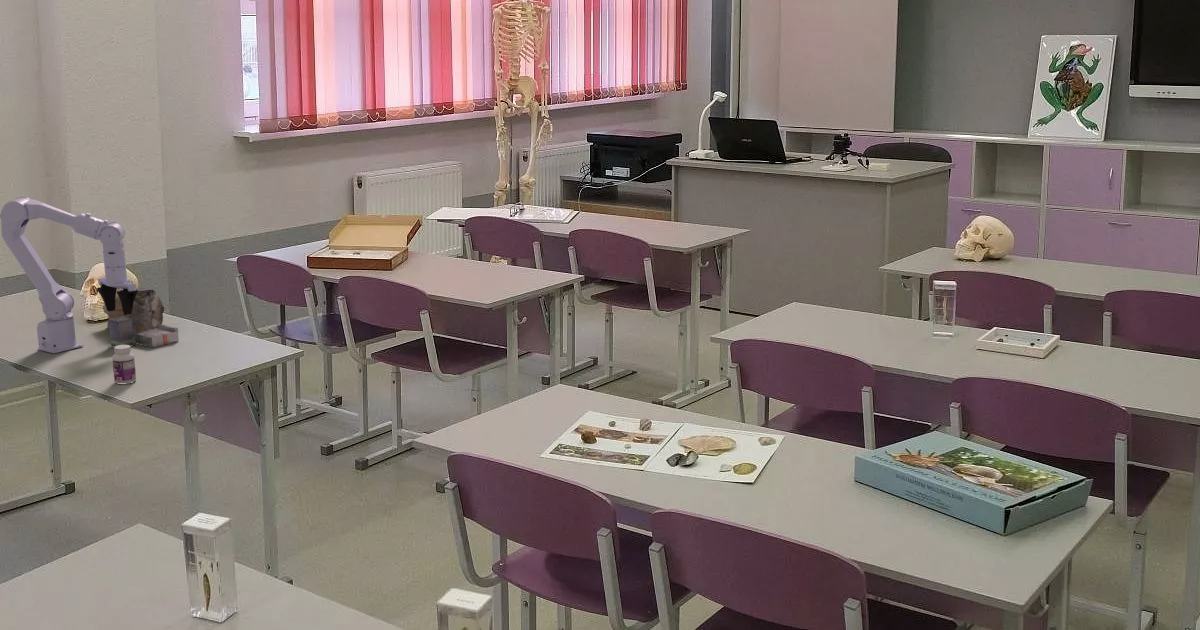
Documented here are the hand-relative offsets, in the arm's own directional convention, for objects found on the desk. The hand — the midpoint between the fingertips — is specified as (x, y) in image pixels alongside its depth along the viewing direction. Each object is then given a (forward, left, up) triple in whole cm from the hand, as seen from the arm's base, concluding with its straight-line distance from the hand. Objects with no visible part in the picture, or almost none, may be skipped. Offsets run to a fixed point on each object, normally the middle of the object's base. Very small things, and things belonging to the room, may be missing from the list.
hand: (119, 312), depth 347 cm
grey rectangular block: (0, 0, -10) cm, 10 cm away
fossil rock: (+15, +14, -10) cm, 23 cm away
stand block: (+8, -5, -10) cm, 14 cm away
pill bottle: (-22, -32, -10) cm, 40 cm away
